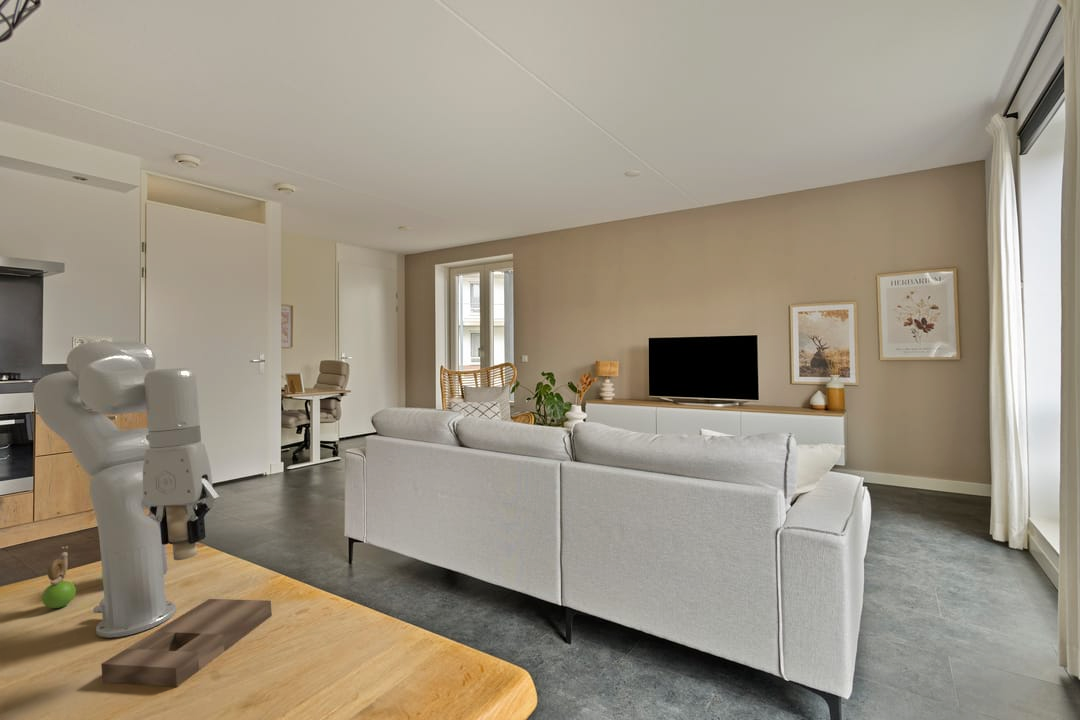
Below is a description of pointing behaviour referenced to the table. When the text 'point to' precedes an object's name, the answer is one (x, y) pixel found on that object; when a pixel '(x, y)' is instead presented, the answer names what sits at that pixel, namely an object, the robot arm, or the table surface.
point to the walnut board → (186, 643)
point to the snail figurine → (58, 584)
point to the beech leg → (179, 532)
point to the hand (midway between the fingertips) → (183, 540)
